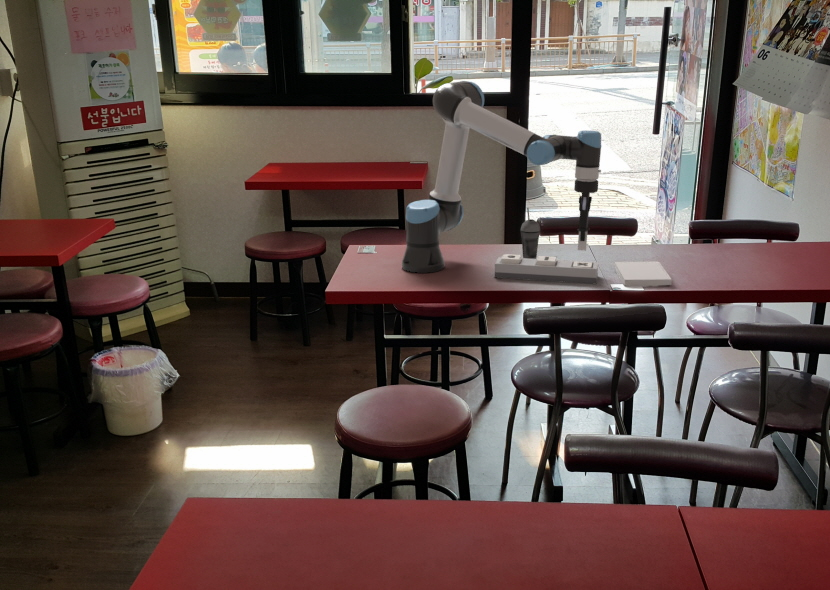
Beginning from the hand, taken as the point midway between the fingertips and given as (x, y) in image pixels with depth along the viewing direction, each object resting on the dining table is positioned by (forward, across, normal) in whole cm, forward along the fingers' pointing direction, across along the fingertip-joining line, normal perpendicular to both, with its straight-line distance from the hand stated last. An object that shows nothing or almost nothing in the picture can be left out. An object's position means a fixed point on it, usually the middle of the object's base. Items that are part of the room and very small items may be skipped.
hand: (581, 249), depth 270 cm
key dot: (+7, 0, +23) cm, 24 cm away
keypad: (+10, 0, +11) cm, 15 cm away
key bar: (+6, 0, +11) cm, 13 cm away
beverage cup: (+11, +19, +19) cm, 29 cm away
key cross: (+8, 0, -1) cm, 8 cm away
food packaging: (+11, +5, -20) cm, 23 cm away
